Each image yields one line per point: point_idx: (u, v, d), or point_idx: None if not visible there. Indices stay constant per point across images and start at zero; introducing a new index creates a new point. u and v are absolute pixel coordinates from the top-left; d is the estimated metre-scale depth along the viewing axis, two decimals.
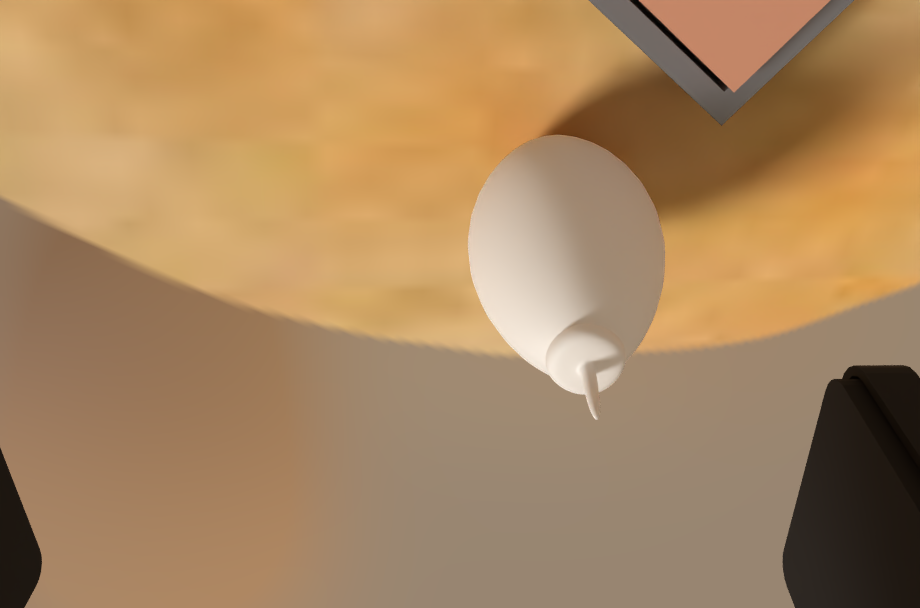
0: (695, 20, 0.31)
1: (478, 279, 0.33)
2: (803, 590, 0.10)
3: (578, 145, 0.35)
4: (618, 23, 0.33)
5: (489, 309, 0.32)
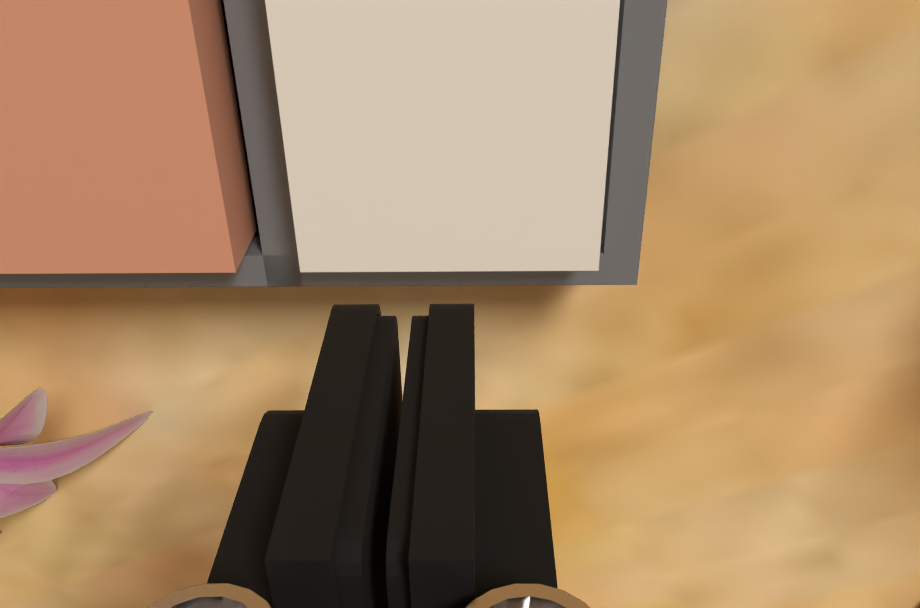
0: None
1: None
2: None
3: None
4: None
5: None
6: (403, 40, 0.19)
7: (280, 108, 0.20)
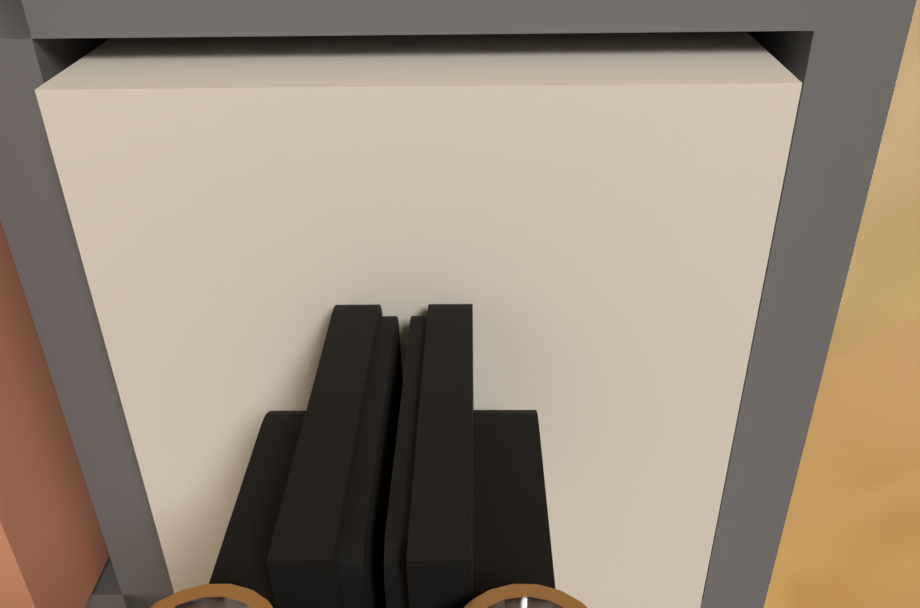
0: None
1: None
2: None
3: None
4: None
5: None
6: (345, 293, 0.10)
7: (126, 395, 0.11)
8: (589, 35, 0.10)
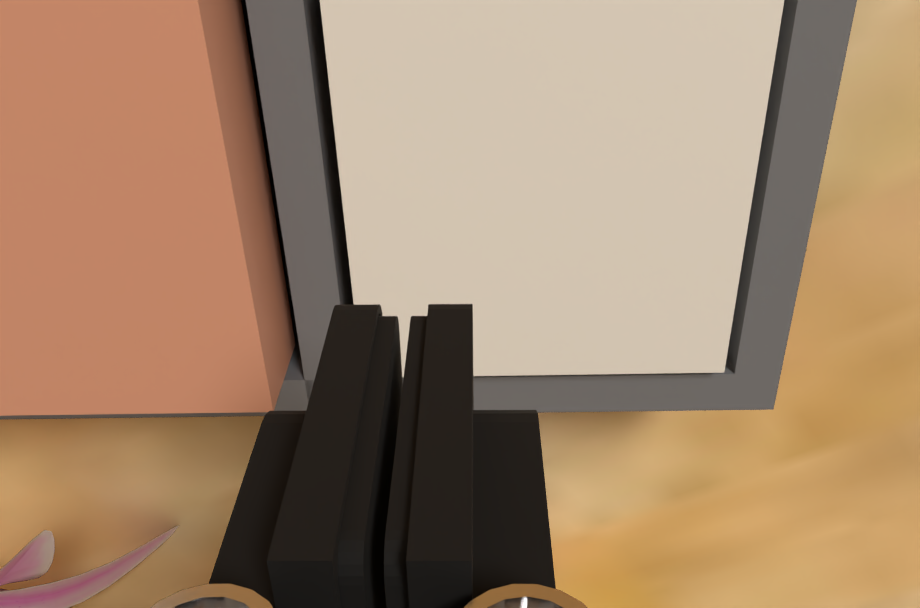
0: None
1: None
2: None
3: None
4: None
5: None
6: (498, 107, 0.15)
7: (342, 189, 0.16)
8: None
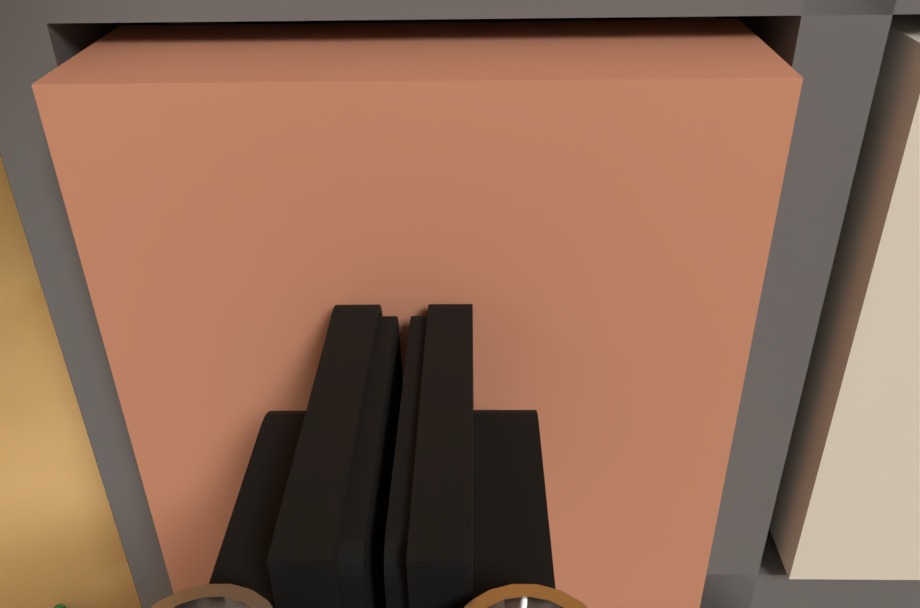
0: (348, 162, 0.09)
1: None
2: None
3: None
4: None
5: None
6: None
7: (844, 348, 0.12)
8: None
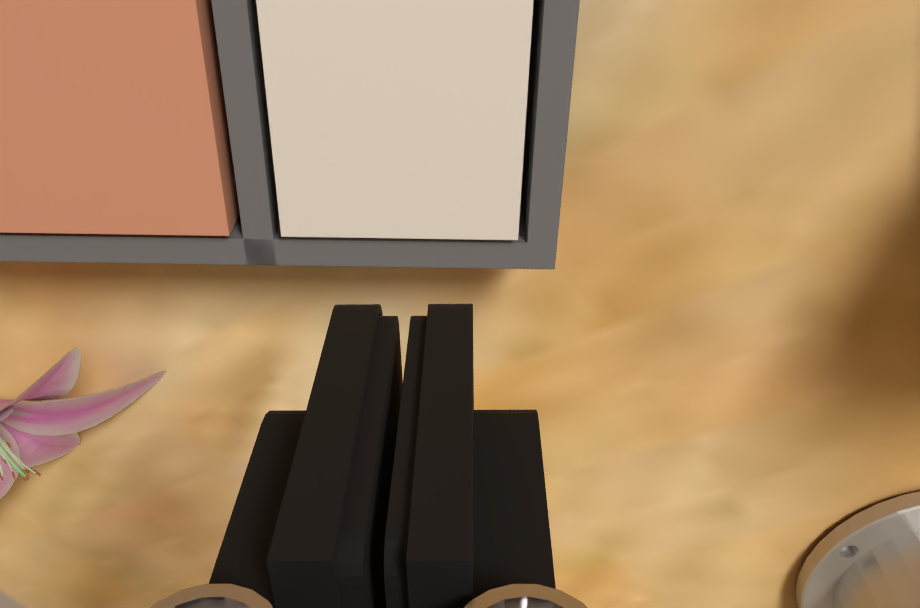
0: None
1: None
2: None
3: None
4: None
5: None
6: (365, 57, 0.25)
7: (268, 107, 0.26)
8: None
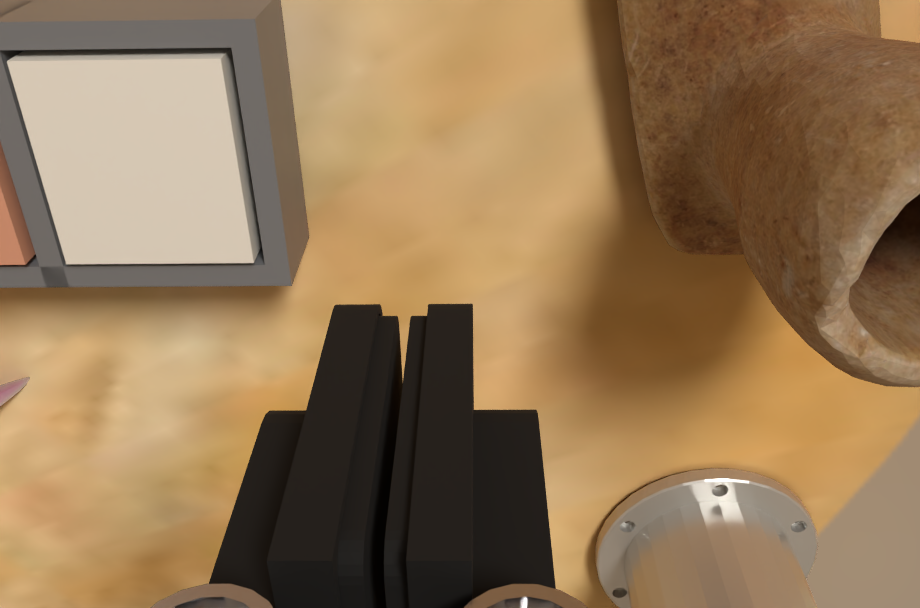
0: None
1: None
2: None
3: None
4: None
5: None
6: (104, 125, 0.32)
7: (39, 164, 0.33)
8: None
